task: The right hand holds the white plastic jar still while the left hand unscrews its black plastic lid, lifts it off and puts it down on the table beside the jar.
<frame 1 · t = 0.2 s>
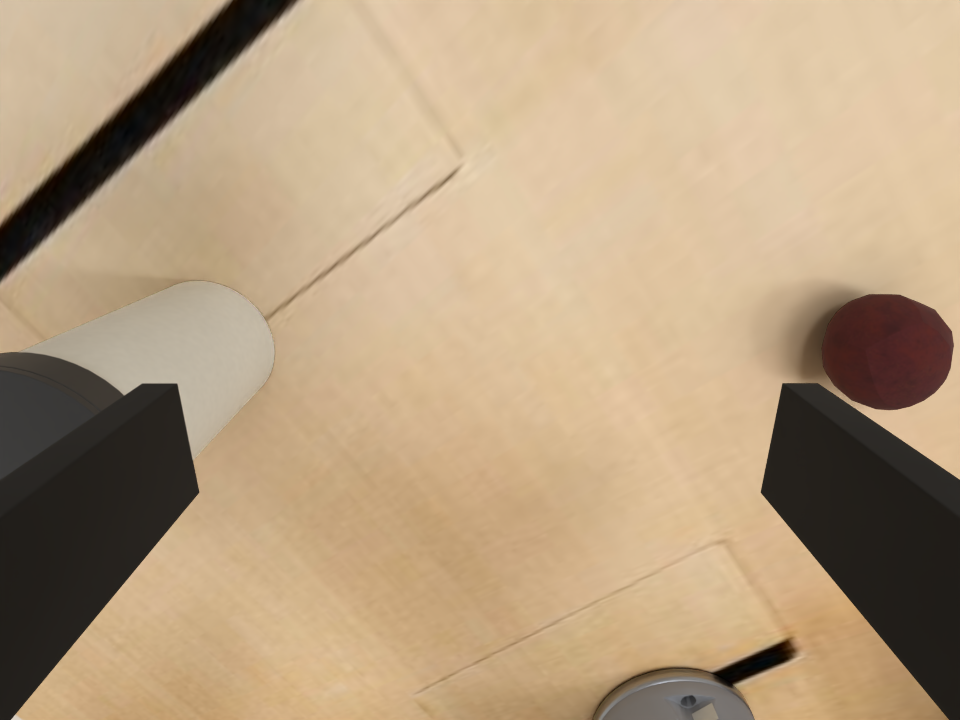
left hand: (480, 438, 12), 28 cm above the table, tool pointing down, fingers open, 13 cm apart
lid: (22, 476, 24), point 18 cm above the table, screwed on, not yet turned
potato: (850, 333, 41), on the table
jar: (209, 344, 41), on the table
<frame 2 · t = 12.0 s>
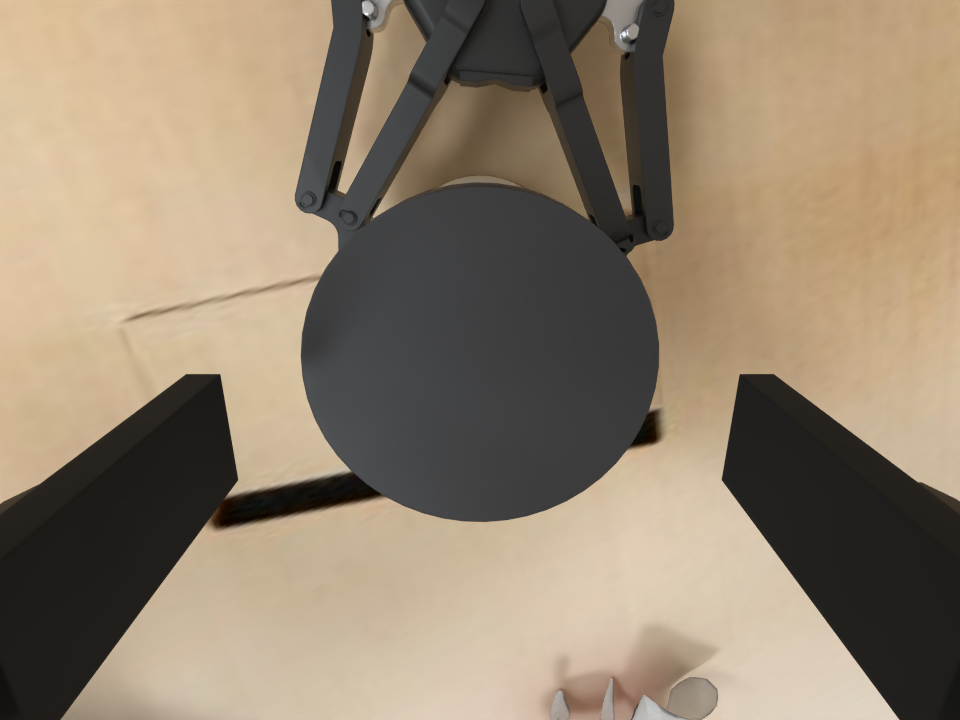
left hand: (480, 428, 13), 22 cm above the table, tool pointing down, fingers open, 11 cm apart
right hand: (473, 367, 29), fingers closed on jar, 10 cm apart
lid: (480, 368, 17), point 18 cm above the table, screwed on, not yet turned
fish: (609, 690, 45), on the table
jar: (480, 260, 33), on the table, touching right hand
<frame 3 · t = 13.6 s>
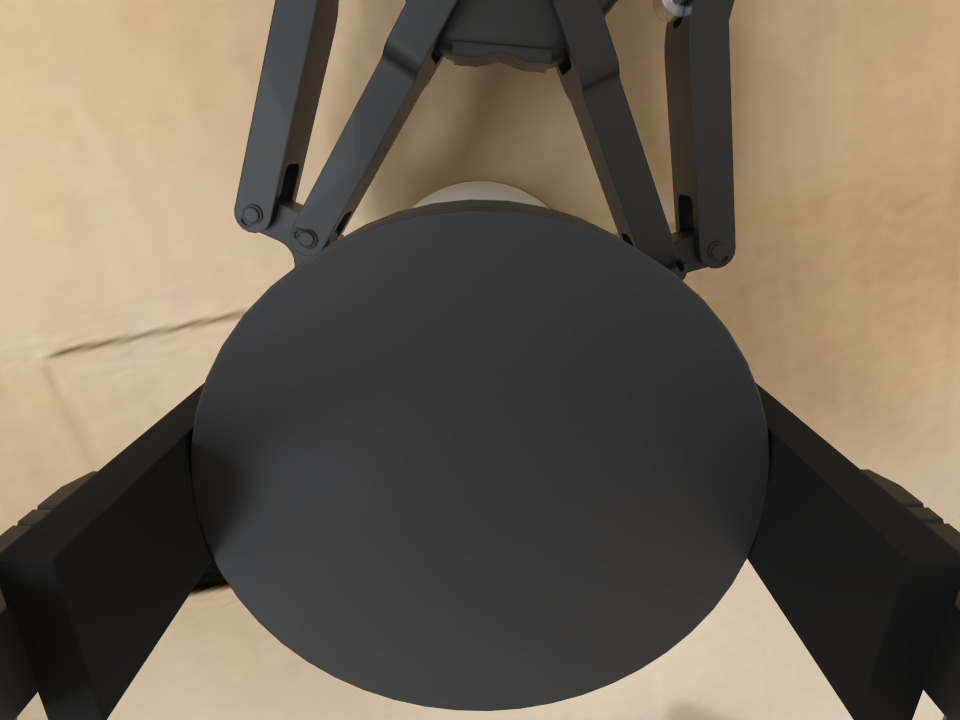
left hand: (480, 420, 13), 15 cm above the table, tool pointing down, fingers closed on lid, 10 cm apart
lid: (480, 493, 10), point 18 cm above the table, screwed on, not yet turned, touching left hand
jar: (479, 284, 27), on the table, touching right hand
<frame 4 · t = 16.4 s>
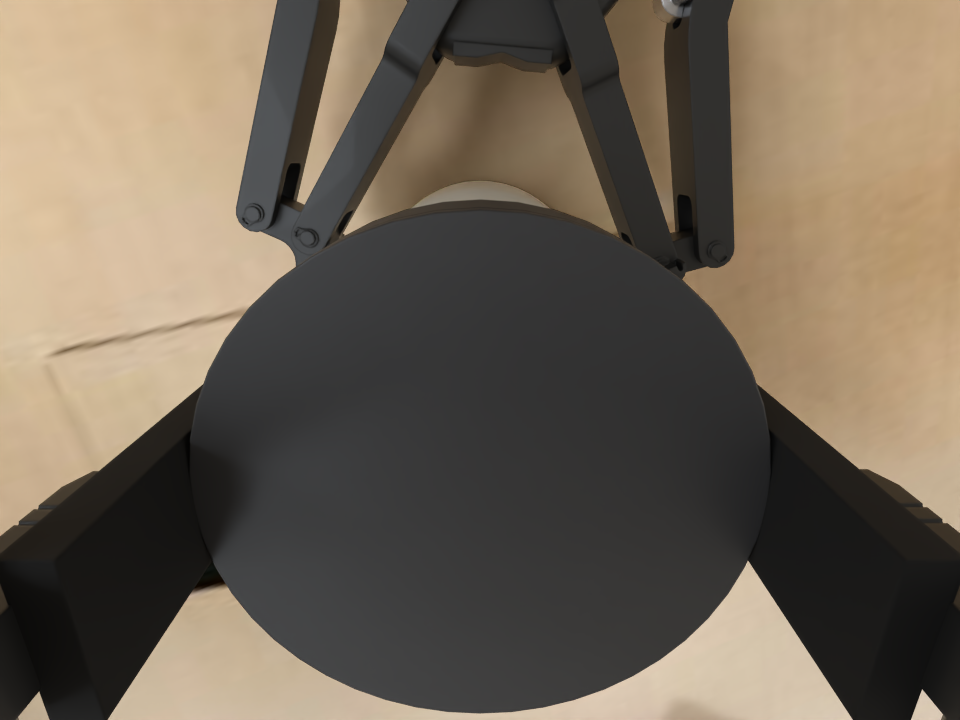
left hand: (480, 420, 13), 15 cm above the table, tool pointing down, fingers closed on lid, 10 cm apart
lid: (480, 495, 10), point 18 cm above the table, turned 66° so far, risen 0.2 cm, still on its thread, touching left hand
jar: (480, 283, 27), on the table, touching right hand
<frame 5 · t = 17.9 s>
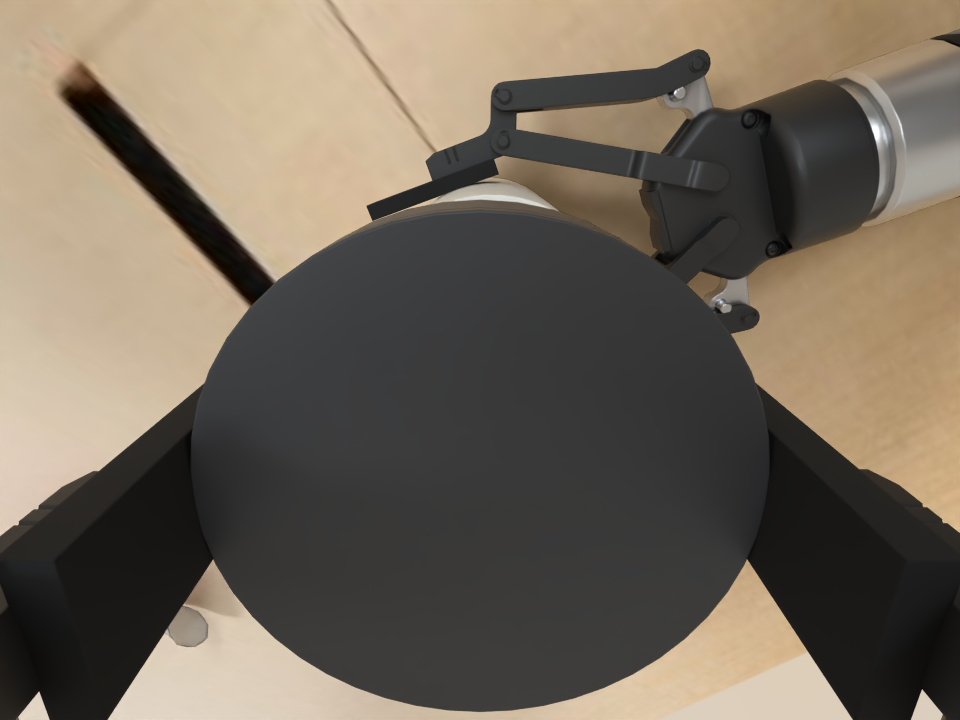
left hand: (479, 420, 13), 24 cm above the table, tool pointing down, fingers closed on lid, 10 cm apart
right hand: (412, 304, 30), fingers closed on jar, 10 cm apart
lid: (480, 494, 10), point 27 cm above the table, off its thread, touching left hand
fish: (137, 558, 44), on the table
jar: (489, 256, 36), on the table, touching right hand
when the left hand's fingers open (0 cm above the table, at t = 23.0 s): lid drops 2 cm, point 2 cm above the table.
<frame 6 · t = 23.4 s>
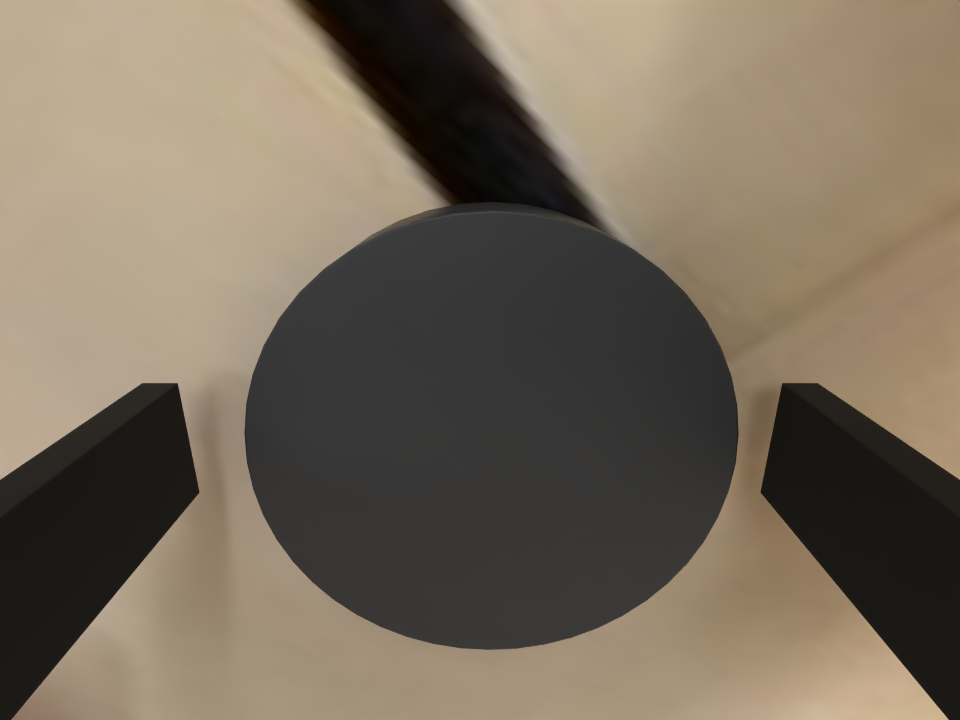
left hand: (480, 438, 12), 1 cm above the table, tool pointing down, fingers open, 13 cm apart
lid: (490, 454, 12), point 2 cm above the table, off its thread
when the right hand's fingers open (6 cm above the table, at t = 24.1 s): jar stays where it is, on the table.
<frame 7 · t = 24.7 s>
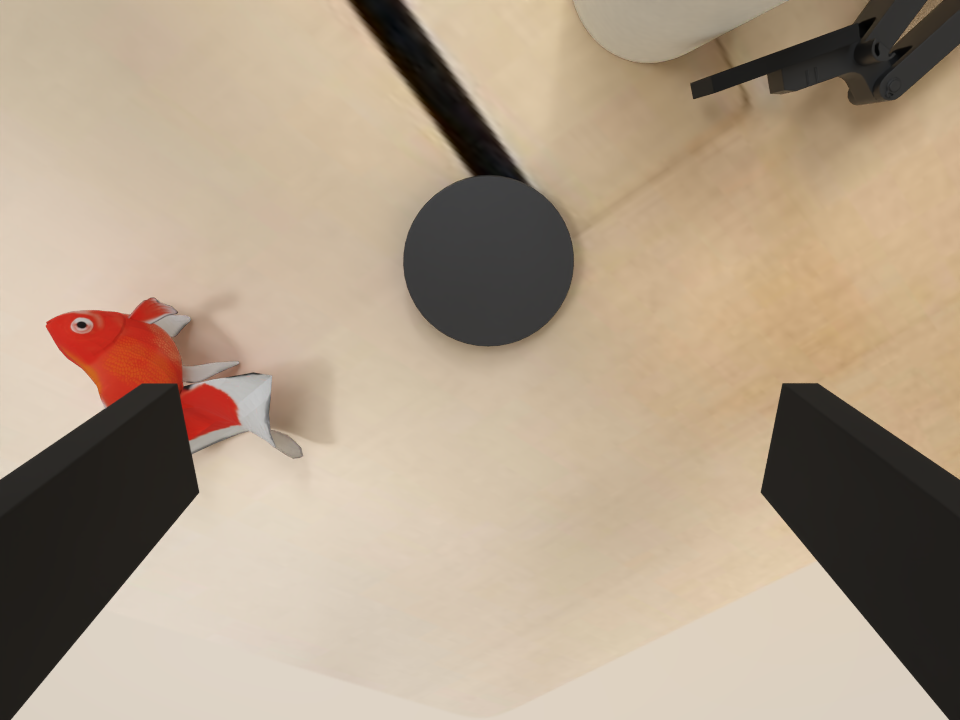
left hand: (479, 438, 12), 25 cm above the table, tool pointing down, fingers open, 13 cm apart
lid: (488, 264, 34), point 2 cm above the table, off its thread
fish: (221, 369, 39), on the table
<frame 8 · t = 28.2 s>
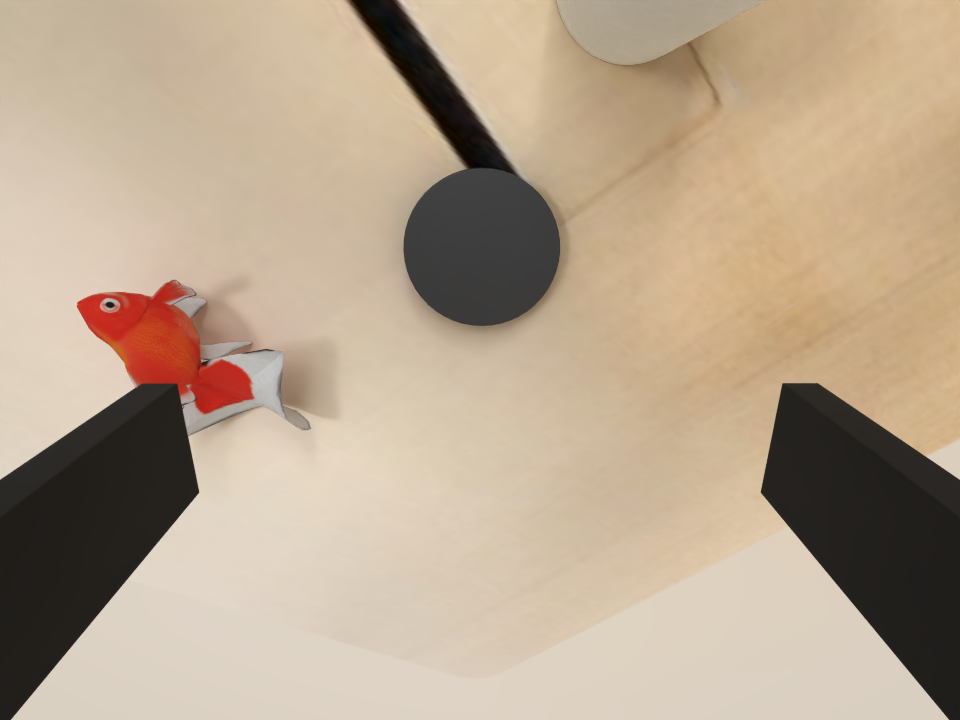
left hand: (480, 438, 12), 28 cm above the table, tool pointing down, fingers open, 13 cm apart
lid: (481, 250, 37), point 2 cm above the table, off its thread
fish: (234, 348, 42), on the table
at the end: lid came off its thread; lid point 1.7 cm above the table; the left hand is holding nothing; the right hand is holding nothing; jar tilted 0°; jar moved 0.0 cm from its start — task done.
